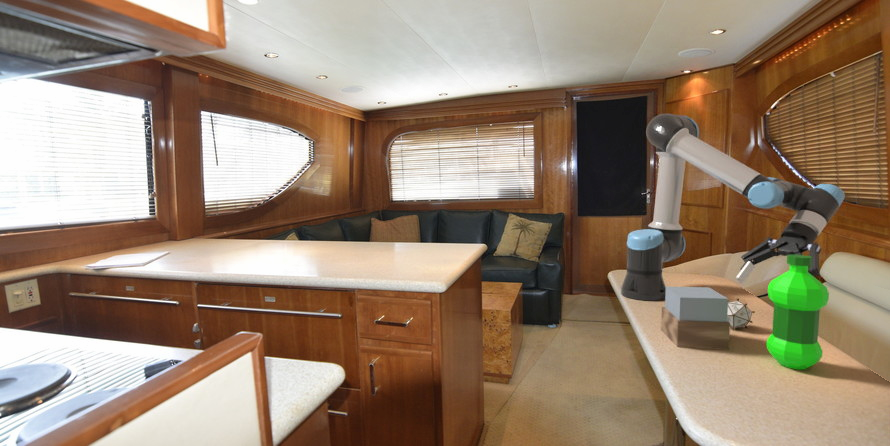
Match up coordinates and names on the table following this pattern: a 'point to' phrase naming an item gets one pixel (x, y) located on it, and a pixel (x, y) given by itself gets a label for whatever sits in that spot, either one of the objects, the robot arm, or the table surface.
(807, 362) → the plastic bottle
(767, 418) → the table surface
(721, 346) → the tower base
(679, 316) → the tower top
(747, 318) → the game die
